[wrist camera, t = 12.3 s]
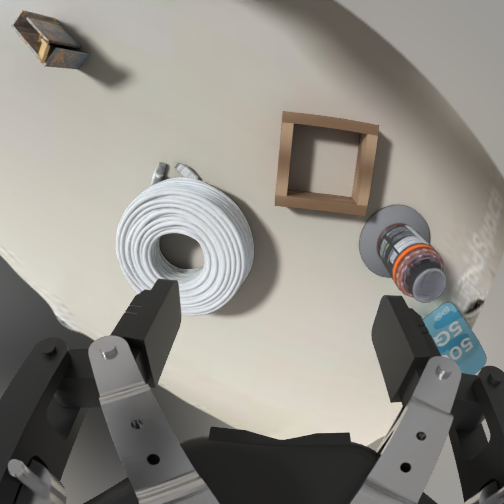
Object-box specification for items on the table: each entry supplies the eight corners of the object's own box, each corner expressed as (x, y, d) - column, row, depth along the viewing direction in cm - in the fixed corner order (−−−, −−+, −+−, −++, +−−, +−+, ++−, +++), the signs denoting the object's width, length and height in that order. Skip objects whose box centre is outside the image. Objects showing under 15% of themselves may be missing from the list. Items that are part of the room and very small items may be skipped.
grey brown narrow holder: (93, 52, 31) (48, 43, 22) (79, 69, 32) (33, 65, 23) (56, 15, 28) (13, 5, 19) (44, 31, 29) (1, 24, 20)
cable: (165, 149, 36) (145, 155, 31) (283, 225, 39) (283, 244, 34) (113, 254, 43) (93, 273, 38) (213, 317, 46) (204, 343, 40)
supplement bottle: (416, 259, 38) (451, 305, 28) (376, 267, 39) (402, 317, 29) (415, 217, 36) (457, 255, 26) (373, 224, 37) (404, 266, 27)
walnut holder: (282, 111, 33) (283, 111, 30) (371, 124, 32) (379, 125, 30) (275, 198, 37) (274, 205, 34) (359, 208, 37) (365, 216, 34)
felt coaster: (366, 199, 36) (368, 200, 36) (435, 210, 36) (437, 212, 35) (352, 272, 40) (353, 274, 40) (416, 278, 40) (418, 280, 39)
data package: (449, 297, 41) (483, 347, 30) (458, 314, 42) (490, 362, 31) (389, 343, 45) (409, 399, 34) (401, 357, 46) (421, 411, 35)
